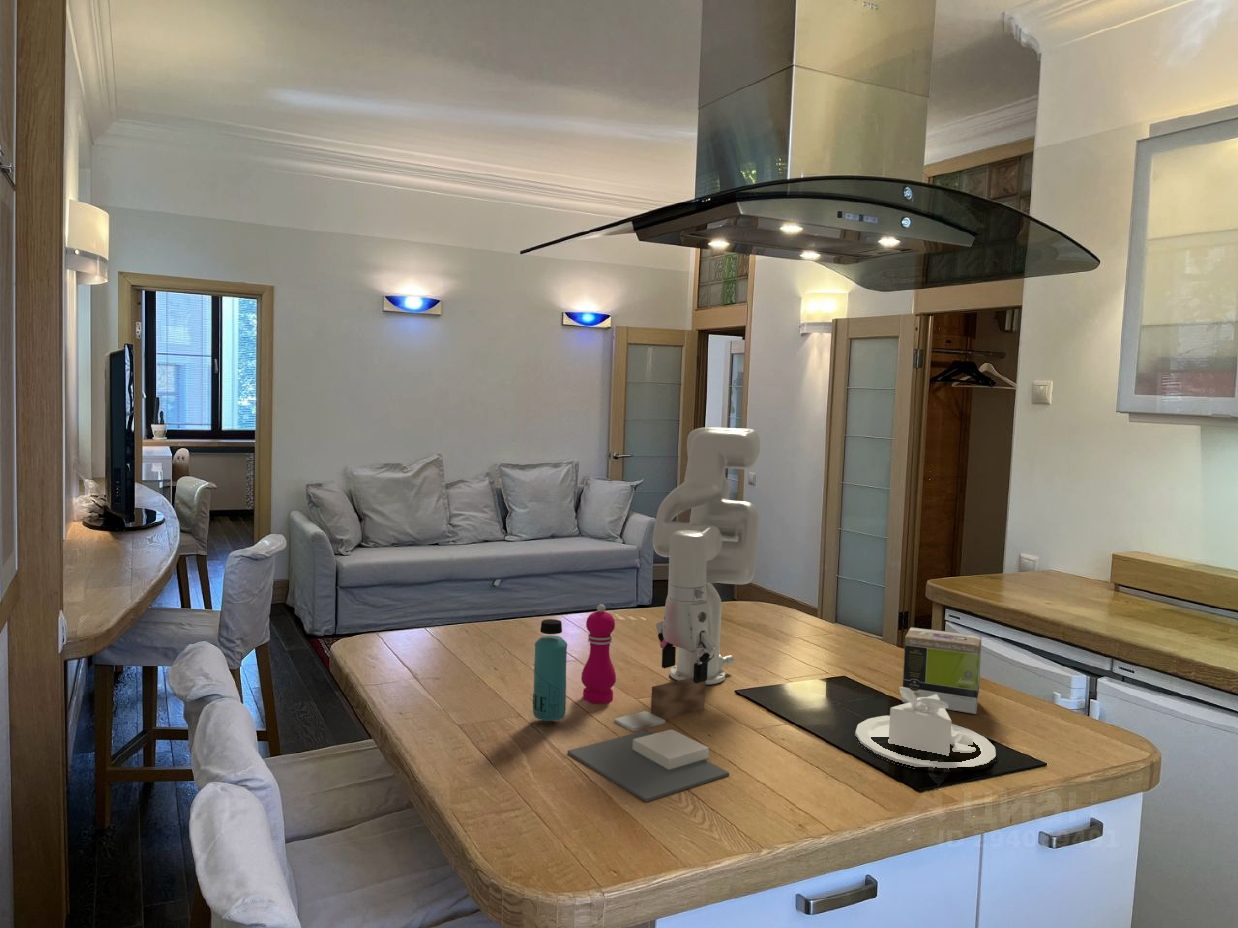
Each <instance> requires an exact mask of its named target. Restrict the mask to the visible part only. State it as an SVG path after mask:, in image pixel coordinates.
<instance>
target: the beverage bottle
mask: <svg viewBox="0 0 1238 928" xmlns="http://www.w3.org/2000/svg"><path fill="white" fill-rule="evenodd" d="M562 623H563V622H562V621H561V620H559V619H555V618H554V619H553V618H549V619H548V618H547V619H543V620H541V623H540V624H541V625H540V633H542V634H546V635H543V636H540V637H539V638H538V639H537V640H536V641H535V642H534V662H533V693H532V713H533V717H534V718H535V719H537V720H539V721H546V722H548V721H549V722H551V721H553V722H554V721H559V720H562V719H564V717H565V716H566V711H567V708H566V706H567V680H568V679H567V653H568V652H567V651H568V649H567V648H568V643H567V641H566V640H565V639H564V638H562V636H558V634H562V632H563V627H562V626H563V625H562Z"/></svg>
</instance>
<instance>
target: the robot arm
mask: <svg viewBox="0 0 1238 928" xmlns="http://www.w3.org/2000/svg"><path fill="white" fill-rule="evenodd" d="M686 439H687V440H686V452H687V453H686V454H687V463H686V469H685V472H684V473H685V474H684V480H683V482H682V483H681V484H680V485H678V486H677V487H675V488H674V489H673V490H672V491H670V492H669V494H667V495H666V497H664V499H663V500H662V501H661V503H660V505H659V507H658V510H657V513H656V518H655V522H654V527H653V532H652V547H653V550H654V552H655V553H656V554H657V555H658V556H660V557H664V558H668V582H667V583H668V587H667V596H666V599H665V606H664V611H663V619H662V621H660V622H657V623H655V627H656V631H657V638H658V641H659V642H660V644H659V645H660V648H661V649H662V650H661V652H662V653H661V668H663V669H667V668H670V669H669V675H670V677H671V678H672V679H674V680H675V681H679V680H684V679H688V678H692V677H693V681H694V683H700V682H703V681H706V685H716V684H719V683H722V682H723V681H724V680H725V679H726V672H725V670H723V667H724V666H726V665H731V664H733V663H734V662H735V661H734V660H735V659H734V657H733V655H731V654H730V655H726V656H722V655H721V654H720V646H721V645H720V644H721V625H722V624H721V623H722V607H723V606H722V599H721V597H720V595H719V593H718V591H717V590H716V588H715V586H713V584H716V583H718V584H719V583H720V584H728V585H729V584H730V585H747V584H750V583H751V581H753V579H754V576H755V572H756V567H757V566H756V565H757V555H758V544H759V542H758V541H759V533H760V532H759V531H760V529H759V528H760V516H759V512H758V509H757V507H756V506H755V504H754V503H752V502H750V501H745V500H744V501H743V500H732V499H731V500H730V495H731V494H730V493H731V492H730V491H731V484H730V482H729V480H728V479H727V478H726V475H725V471H726V470H725V469H734V470H735V469H736V470H750V469H752V467H754V465H755V464H756V462H757V460H758V458H759V455H760V452H761V441H760V437H759V434H758V432H757V431H756V430H755V429H752V428H734V427H717V426H716V427H714V426H713V427H711V426H709V427H708V426H706V427H699V428H695V429H693V430H691V431H690V432H689V434H688V435H687V438H686ZM688 510H690V515H689V522H685V521H684V522H682V521H672V520H673V519H675V517H676V516H678V515H679V514H682V513H683V512H685V511H688ZM676 648H677V649H676ZM676 650H677V653H676ZM676 654H677V657H676ZM676 658H677V660H676ZM676 663H677V664H676ZM706 685H705V686H706Z"/></svg>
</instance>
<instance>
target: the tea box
mask: <svg viewBox="0 0 1238 928" xmlns="http://www.w3.org/2000/svg"><path fill="white" fill-rule="evenodd" d="M981 655H982V636H981V635H977V634H969V633H960V632H955V631H954V632H953V631H946V630H937V629H931V628H930V629H927V628H919V627H912V626H911V627H910V628H909V629H908V631H907V633H906V635H905V637H904V653H903V670H902V671H903V672H902V674H903V675H902V687H904V688H908V689H910V690H911V691H913V692H914V694H915V696H916V700H917V698H920V697H928V696H932V695H935V694H937V695H938V697H939V699H940V700H941V701H944V702H946V703H947V704H948V708H945V710H949V711H954V712H955V711H957V712H961V713H967V714H972V715H976V714H977V711H978V701H979V693H980V677H981ZM901 700H902V701H901V702H902V703H904V704H905V703H908V702H909V701H907V700H906V699H904V698H903V697H902V696H901Z"/></svg>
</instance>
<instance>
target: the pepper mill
mask: <svg viewBox="0 0 1238 928" xmlns="http://www.w3.org/2000/svg"><path fill="white" fill-rule="evenodd" d="M585 627H586V630H587V631H588V633H589V634H588V635H587V637H588V639H587V641H588V642H589V655H588V659H587V661H586V663H585V665H584V667H583V669H582V672H581V683H582V684H583V686H584V687H585V688H583V690H582V691H583V692H582V693H583V694H582V698H583V700H584V701H586V702H587V703H590V704H591V703H592V704H607V703H610V702H612V701H613V700H614V690H613V689H612V687H613V686H614V685H615V684H616V682H617V676H616V671H615V668H614V665H613V662H612V660H611V656H610V646H611V643H612V642H613V640H612V639H613V635H612V634H613V633H612V632H613V631H614V630H615V628H616V621H615V617H614V616H613V615H612V614H611V613H609V612H607V611H606V606H605V605H604V604H603V603H602V604H601V603H599V604H598V605H597V606H596V611H594V612H592V613H591V614H589V615H588V617H587V619H586V624H585Z"/></svg>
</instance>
